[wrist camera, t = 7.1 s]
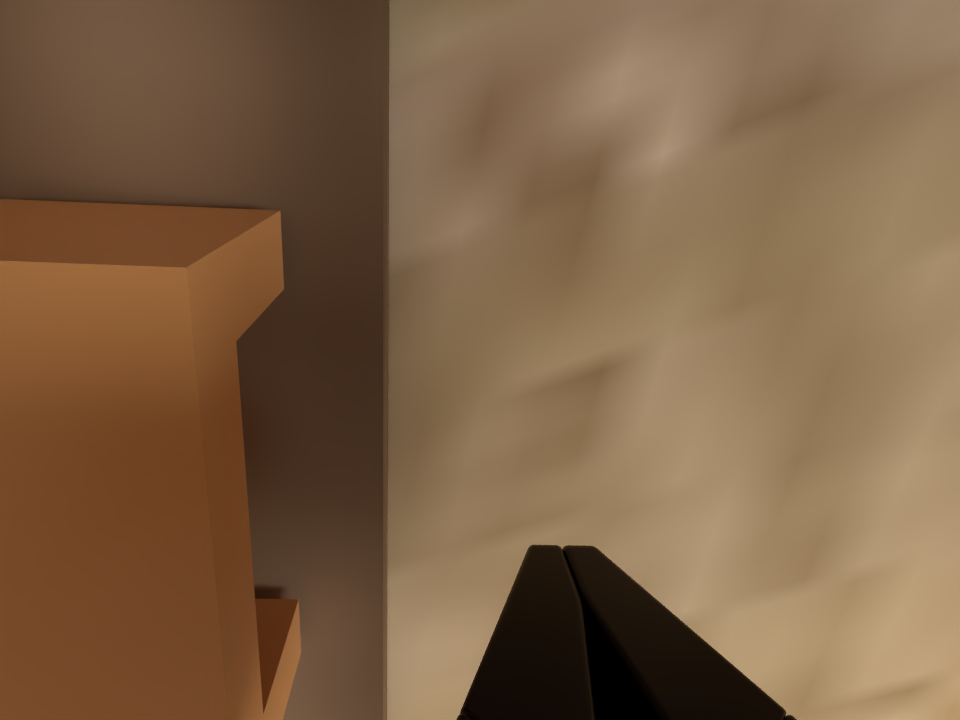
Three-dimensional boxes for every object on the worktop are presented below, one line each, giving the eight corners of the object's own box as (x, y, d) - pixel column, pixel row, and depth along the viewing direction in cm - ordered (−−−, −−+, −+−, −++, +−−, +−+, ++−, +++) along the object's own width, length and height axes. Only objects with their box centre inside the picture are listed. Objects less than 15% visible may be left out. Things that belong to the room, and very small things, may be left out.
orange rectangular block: (280, 210, 11) (186, 268, 7) (300, 651, 13) (242, 867, 9) (2, 198, 10) (-255, 250, 7) (82, 649, 13) (-67, 870, 9)
